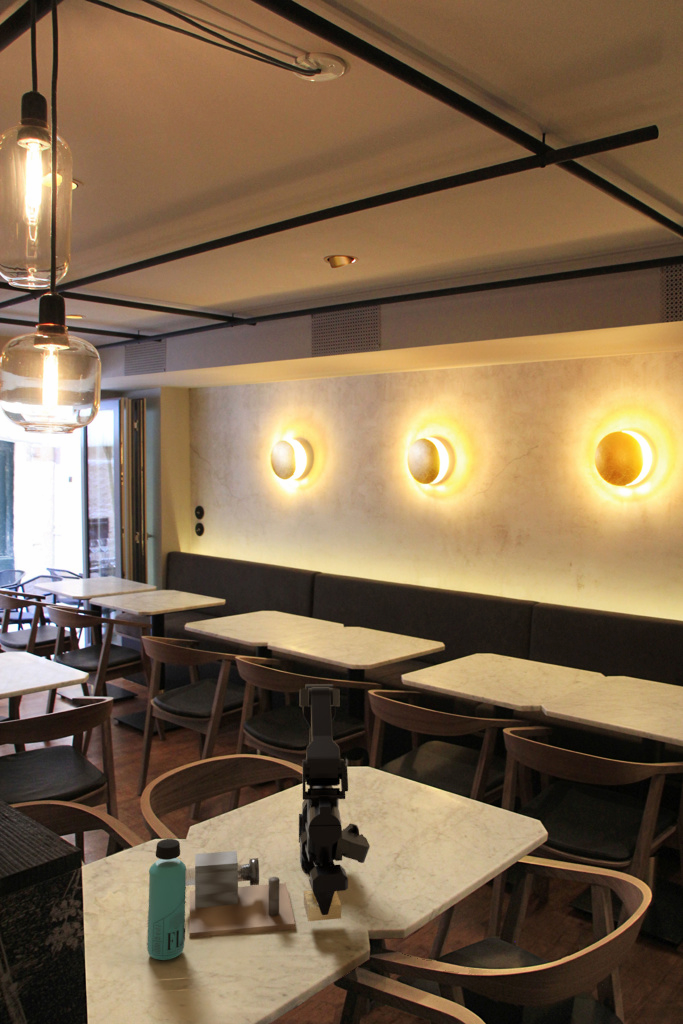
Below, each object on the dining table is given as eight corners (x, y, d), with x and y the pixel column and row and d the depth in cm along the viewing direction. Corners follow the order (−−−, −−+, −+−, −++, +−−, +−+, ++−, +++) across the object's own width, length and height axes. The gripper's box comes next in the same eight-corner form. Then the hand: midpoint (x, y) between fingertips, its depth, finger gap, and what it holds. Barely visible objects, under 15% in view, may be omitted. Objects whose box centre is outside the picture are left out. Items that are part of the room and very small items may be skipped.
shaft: (257, 877, 157) (257, 853, 157) (259, 889, 152) (259, 865, 152) (182, 883, 154) (182, 859, 154) (181, 896, 150) (181, 871, 150)
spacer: (335, 901, 149) (335, 888, 149) (341, 918, 143) (341, 904, 143) (303, 904, 148) (303, 890, 148) (308, 921, 142) (308, 907, 142)
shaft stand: (286, 888, 160) (286, 843, 160) (295, 929, 145) (295, 880, 145) (190, 896, 156) (190, 851, 156) (189, 939, 142) (189, 889, 141)
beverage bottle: (165, 974, 132) (169, 854, 131) (137, 960, 135) (140, 843, 135) (192, 955, 137) (196, 840, 137) (164, 943, 141) (168, 831, 140)
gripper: (377, 841, 138) (376, 929, 138) (355, 799, 156) (355, 877, 156) (313, 845, 136) (312, 935, 136) (299, 802, 154) (299, 881, 154)
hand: (322, 905), depth 146 cm, fingers closed on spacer, 6 cm apart
